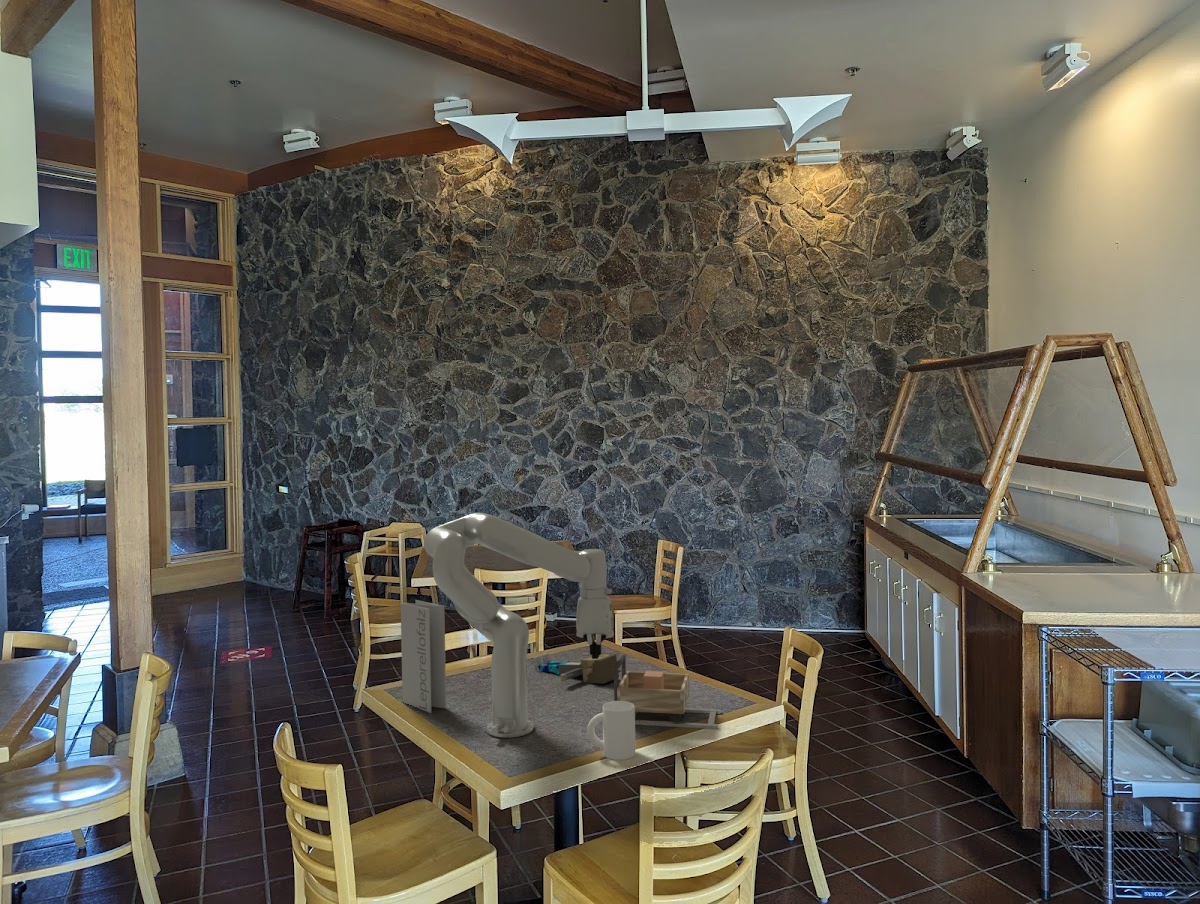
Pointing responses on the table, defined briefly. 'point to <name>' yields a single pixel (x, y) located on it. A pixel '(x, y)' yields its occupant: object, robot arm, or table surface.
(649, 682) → the block
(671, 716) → the cart
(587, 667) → the toy
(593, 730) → the mug
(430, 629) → the brochure
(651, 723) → the rails
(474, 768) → the table surface
